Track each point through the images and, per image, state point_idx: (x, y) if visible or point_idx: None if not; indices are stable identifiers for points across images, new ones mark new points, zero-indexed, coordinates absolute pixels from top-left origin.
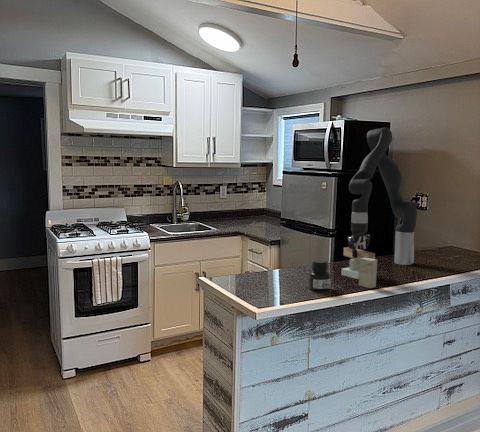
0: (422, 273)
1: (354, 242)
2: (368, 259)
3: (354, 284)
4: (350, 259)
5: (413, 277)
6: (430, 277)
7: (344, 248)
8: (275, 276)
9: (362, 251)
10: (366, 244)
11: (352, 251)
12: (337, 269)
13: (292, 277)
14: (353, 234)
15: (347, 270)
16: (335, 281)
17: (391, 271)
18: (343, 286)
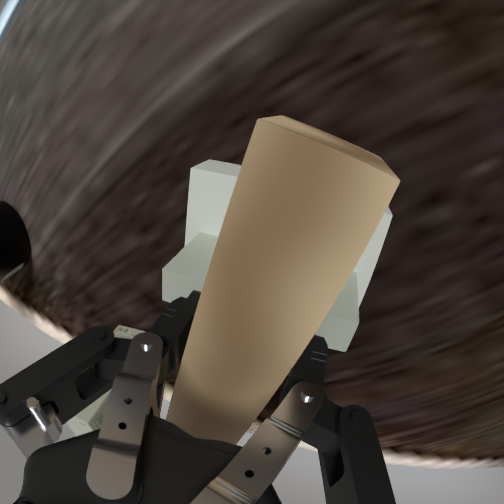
0: (484, 421)
1: (143, 411)
2: (76, 431)
3: (120, 304)
4: (173, 272)
5: (405, 428)
6: (431, 450)
7: (251, 141)
8: (6, 11)
9: (212, 403)
10: (324, 460)
11: (152, 328)
12: (337, 44)
13: (21, 50)
14: (36, 488)
15: (186, 225)
16: (88, 220)
17: (485, 342)
18: (73, 282)
